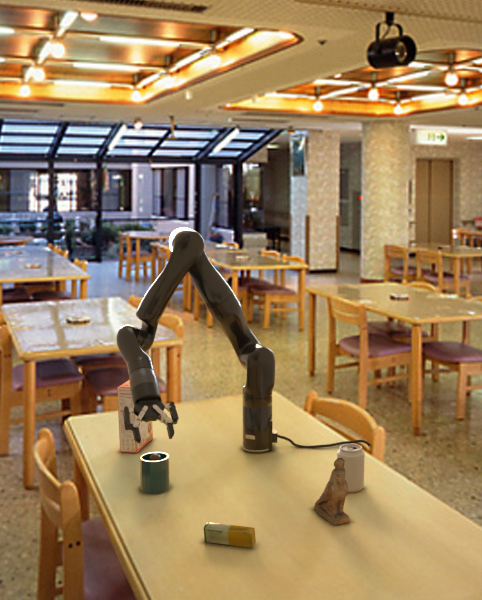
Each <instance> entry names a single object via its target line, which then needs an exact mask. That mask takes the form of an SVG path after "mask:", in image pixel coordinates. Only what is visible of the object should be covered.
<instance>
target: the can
mask: <svg viewBox="0 0 482 600" xmlns="http://www.w3.org/2000/svg"><path fill="white" fill-rule="evenodd" d="M365 454H366V453H365V451H364V450H363V446H362V445H360V444H359V443H358V444H357V443H351V444H341V445H339V449H338V450H337V451H336V459H338V458H343V459H344V460H345V462H344V468H345V471H346V472H345V480H346V482H347V484H348V492H347V494H348V493H349V494H350V493H351V494H352V493H358V492H360V491H361V490H362V489H363V488H364V486H365Z"/></svg>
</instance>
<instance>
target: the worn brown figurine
mask: <svg viewBox="0 0 482 600" xmlns="http://www.w3.org/2000/svg"><path fill="white" fill-rule="evenodd" d="M344 462H345V460H344V459H343V458H338V459H337V458H336V459H335V460H334V462H333V467H334V468H333V469H332V471H331V473H330V477H329V480H328V481H327V483H326V484H325V487H324V490H323V491H322V493H321V495H320V496H319V498H318V499H317V500H315V503H314V507H313V510H314V511H315V512H316V513H317V514H319V516H320V517H322V518H323V519H325V520H326V522H328V523H330V525H333V526H339V525H343V524H348V523H350V517H349V515H348V514H347V513H345V512H344V507H345V502H346V498H347V496H348V484H347V482H346V480H345V472H346V471H345V468H344Z"/></svg>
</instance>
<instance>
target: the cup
mask: <svg viewBox="0 0 482 600" xmlns="http://www.w3.org/2000/svg"><path fill="white" fill-rule="evenodd" d="M154 453H157V454H159V455H160V456H161V460H159V461H149V458H150V456H151V455H152V454H154ZM139 480H140V481H139V482H140V483H139V484H140V491H141V492H142V493H144V494H147V495H148V494H149V495H156V494H162V493H165V492H167V491H169V489H170V483H171V482H170V454H168V453H166V452H162V451H152V452H151V451H150V452H146V453H143V454H142V455H140V457H139Z"/></svg>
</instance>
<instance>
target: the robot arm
mask: <svg viewBox="0 0 482 600" xmlns="http://www.w3.org/2000/svg"><path fill="white" fill-rule="evenodd" d="M168 243H169V244H168V245H169V250H170V251H171V252H170V255H169V257H168V260H167V261H166V264H165V266H164V268H163V269H162V271H161V273H160V274H159V275H158V276H157V278H156V279H155V280H154V282H153V283H152V284H151V285H150V287H149V288H148V290H147V291H146V293H145V294H144V297H143V298H142V300H141V302H140V303H139V305H138V307H137V308H136V311H135V316H136V318H137V319H139V320H140V321H141V325H140V328H139V327H137V326H134V325H131V324H125V325H123V326H121V327H120V328H119V329H118V331H117V333H116V338H115V339H116V340H115V341H116V346H117V348H118V351H119V353H120V355H121V357H122V359H123V361H124V362H125V364H126V368H127V373H128V380H130V390H131V393H132V398H133V403H134V408H128V407H124V411H123V417H124V426H125V430H132V431H133V436H134V440H135V442H136V441H137V443H140V442H141V436H140V431H139V426H140V424H141V422H142V421H145V422H149V421H152V422H157V421H159V422H160V423H161V424H163V425H165V426H166V432H167V436H168V439H169V440H173V438H174V436H175V432H176V431H175V428H174V425H177V424H178V422H179V419H180V418H179V417H180V416H179V415H178V411H177V407H176V404H175V402H174V401H172V400H171V401H169V403H163V400H162V396H161V390H160V388H159V387H160V386H159V382H158V377H157V375H156V372H155V369H154V368H155V367H154V363H153V359H152V357H151V355H149V354H148V353H147V352H149V350H151V348H152V346H153V344H154V342H155V339H156V335H157V331H158V326H159V322H160V320H161V318H162V316H163V315H164V313H165V311H166V309H167V307H168V305H169V304H170V301H171V299H172V298H173V296H174V295H175V292H176V291H177V289H178V288H179V286H180V285H181V282H182V281H183V280H184V278H185V277H186V275H187V274H188V275H189V276H190V278H191V280H192V282H193V284H194V286H195V288H196V291H197V293H198V294H199V296H200V298H201V300H202V301H203V303H204V305H205V307H206V309H207V310H208V312H209V313H210V315H211V317H212V318H213V320H214V322H216V324H217V326H218V327H219V328H220V330H221V331H222V333H223V334H224V335H225V336H226V338H227V339H228V341H229V342H230V344H231V347H232V349H233V351H234V353H235V355H236V357H237V359H238V362H239V363H240V365H241V367H242V368H243V369H244V370H245V371H246V382H245V384H244V385H243V386H242V450H243V451H245V452H248V453H256V454H257V453H266V452H270V451H273V444H276V443H277V444H278V438H279V439H282V440H285V441H287V442H288V443H290V444H291V445H292V446H294V447H295V448H302V449H319V448H331V447H335V446H341V445H343V444H357V443H358V444H359V443H364V444H366V446H372V445H371V443H370V442H369V441H367V440H365V439H354V440H345V441H339V442H334V443H326V444H315V445H314V444H313V445H304V444H303V445H302V444H299V443H296V442H295V441H293V440H292V439H291V438H289V437H287V436H284V435H280V434H278V429H277V428H273V390H274V388H275V384H276V383H275V381H276V357H275V354H274V351H272V349H270V348H269V347H267V346H266V345H263V344H262V343H261V342H260V341H259V340H258V338H257V337H256V335H254V333H253V332H252V330H251V329H250V327H249V325H248V322H247V320H246V316H245V312H244V310H243V309H244V308H243V306H242V304H241V302H240V300H239V298H238V296H237V295H236V293H235V292H234V290H233V289H232V287H231V286H230V285H229V283H228V282H227V281H226V279H225V278H224V276H222V275H221V273H220V272H219V271H218V270H217V269H216V268H215V266H214V265H213V264H212V262H211V260H210V259H209V257H208V255H207V253H206V251H205V244H206V243H205V240H204V238H203V236H202V235H201V234H200V233H199V231H197V230H195V229H193V228H190V227H185V226H184V227H183V226H182V227H179V228H178V227H177V228H176V229H174V230H173V231H172V232H171V233H170V236H169V239H168ZM164 410H166V411H167V412H168V413H169V415H170V417H169V415H168V414H167V413H166V412H165V411H164ZM132 413H134V414H135V415H136V416H138V417H137V419H136V421H135V423H134V424H131V423H130V416H131V414H132Z"/></svg>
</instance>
